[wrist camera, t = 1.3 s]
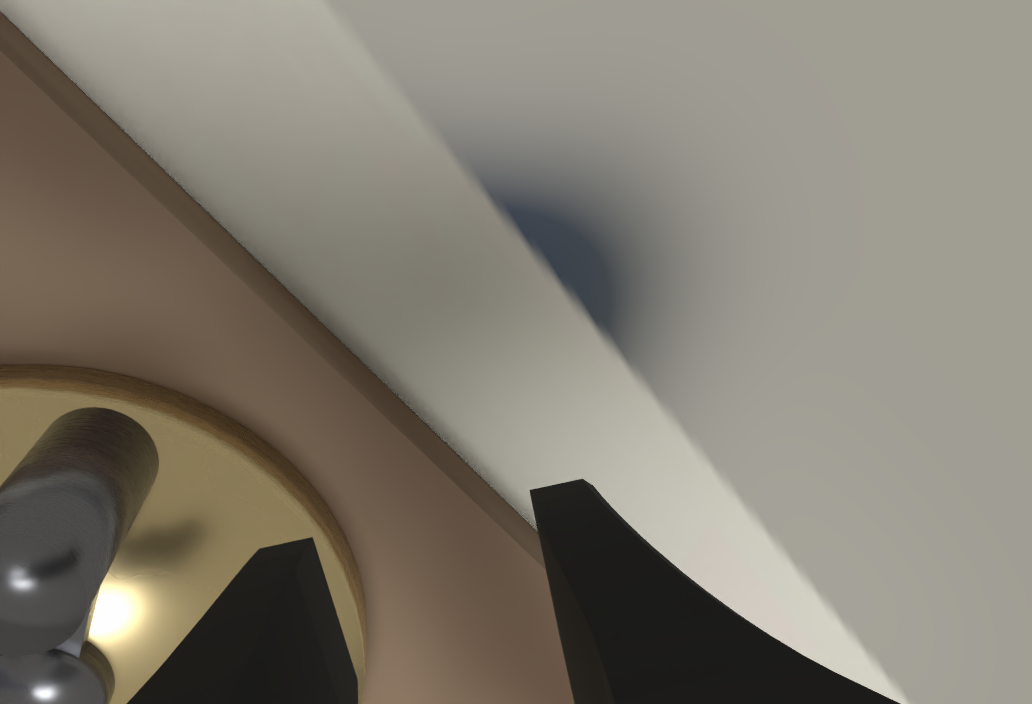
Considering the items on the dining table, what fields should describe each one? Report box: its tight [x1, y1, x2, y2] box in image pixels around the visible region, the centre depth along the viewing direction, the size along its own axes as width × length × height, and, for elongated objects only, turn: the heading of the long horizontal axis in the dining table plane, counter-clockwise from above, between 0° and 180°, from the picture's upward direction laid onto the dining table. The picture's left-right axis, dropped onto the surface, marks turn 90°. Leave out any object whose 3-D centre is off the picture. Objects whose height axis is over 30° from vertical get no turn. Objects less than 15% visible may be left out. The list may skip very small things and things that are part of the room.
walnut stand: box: [0, 12, 575, 704], centre depth 19 cm, size 14×20×4 cm
